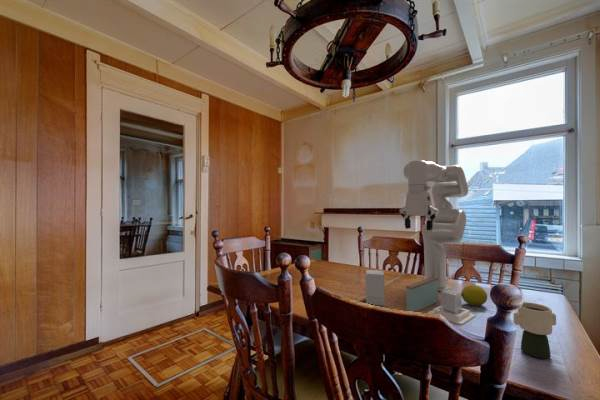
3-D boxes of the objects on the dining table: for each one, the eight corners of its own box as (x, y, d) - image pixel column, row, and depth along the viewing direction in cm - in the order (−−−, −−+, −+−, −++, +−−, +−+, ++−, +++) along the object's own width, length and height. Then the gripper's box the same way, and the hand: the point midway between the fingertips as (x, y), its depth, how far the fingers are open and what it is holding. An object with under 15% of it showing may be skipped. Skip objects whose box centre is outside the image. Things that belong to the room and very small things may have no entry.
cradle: (442, 306, 110) (442, 301, 110) (476, 316, 100) (476, 310, 100) (427, 314, 102) (427, 308, 102) (461, 325, 93) (461, 319, 93)
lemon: (479, 301, 115) (479, 282, 115) (493, 308, 107) (493, 288, 107) (454, 302, 114) (454, 283, 114) (467, 309, 106) (466, 288, 107)
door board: (432, 300, 117) (432, 277, 117) (438, 301, 115) (437, 278, 115) (406, 311, 105) (406, 286, 105) (411, 313, 103) (411, 287, 103)
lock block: (447, 310, 105) (447, 289, 105) (461, 314, 101) (461, 292, 101) (441, 313, 102) (440, 291, 102) (455, 317, 98) (455, 295, 98)
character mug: (545, 347, 78) (544, 302, 78) (568, 362, 71) (567, 311, 71) (505, 346, 79) (504, 301, 79) (524, 361, 72) (523, 311, 72)
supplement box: (385, 305, 111) (384, 274, 111) (366, 304, 112) (365, 273, 113) (383, 299, 118) (382, 270, 118) (365, 298, 120) (365, 269, 120)
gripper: (442, 188, 113) (443, 230, 113) (404, 190, 127) (404, 227, 127) (433, 188, 109) (433, 231, 109) (394, 190, 123) (395, 228, 122)
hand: (418, 229), depth 118 cm, fingers open, 9 cm apart
